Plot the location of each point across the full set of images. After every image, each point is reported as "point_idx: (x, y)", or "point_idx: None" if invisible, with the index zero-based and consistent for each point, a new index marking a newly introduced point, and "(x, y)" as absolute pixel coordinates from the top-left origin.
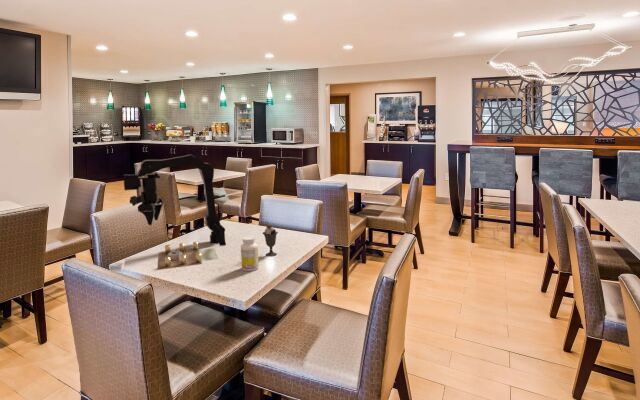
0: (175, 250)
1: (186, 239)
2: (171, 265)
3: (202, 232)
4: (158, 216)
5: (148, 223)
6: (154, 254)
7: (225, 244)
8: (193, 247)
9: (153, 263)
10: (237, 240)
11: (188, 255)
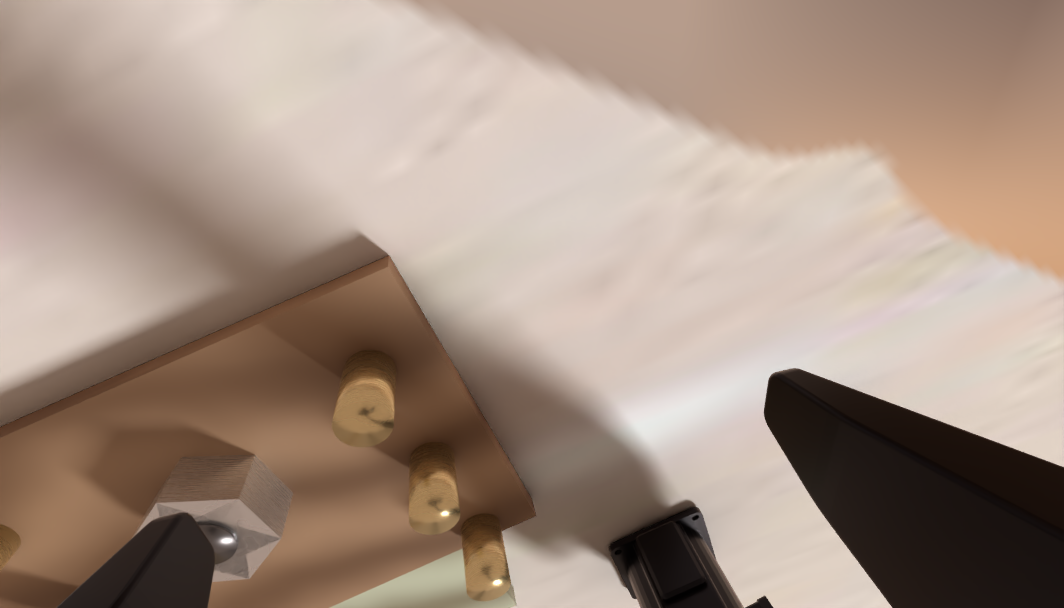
0: (457, 396)
1: (856, 295)
2: (16, 554)
3: (1012, 337)
4: (837, 523)
5: (104, 575)
6: (399, 199)
7: (631, 594)
8: (470, 538)
9: (99, 330)
10: None
11: (323, 544)
